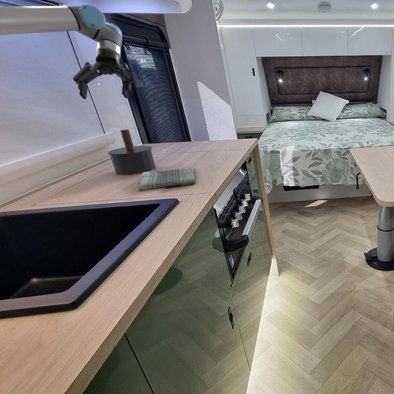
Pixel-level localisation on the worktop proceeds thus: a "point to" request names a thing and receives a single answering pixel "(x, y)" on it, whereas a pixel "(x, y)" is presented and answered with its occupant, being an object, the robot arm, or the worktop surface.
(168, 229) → the worktop surface
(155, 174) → the dish towel
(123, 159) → the pot
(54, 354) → the worktop surface
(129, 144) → the pot lid
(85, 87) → the robot arm
